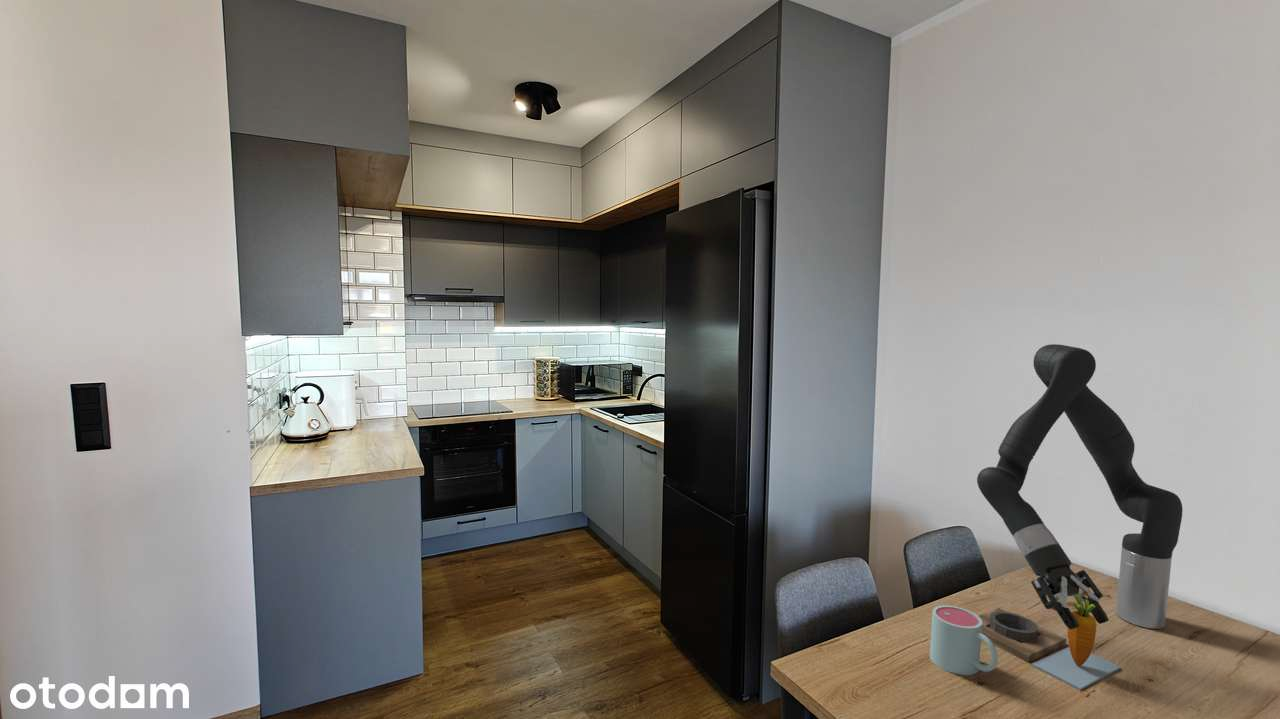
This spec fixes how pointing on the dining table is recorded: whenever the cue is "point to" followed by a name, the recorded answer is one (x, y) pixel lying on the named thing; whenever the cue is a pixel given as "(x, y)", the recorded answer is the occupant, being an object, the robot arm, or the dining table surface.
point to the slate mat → (1075, 668)
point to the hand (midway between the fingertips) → (1089, 625)
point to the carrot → (1082, 632)
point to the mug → (959, 641)
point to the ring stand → (1019, 635)
